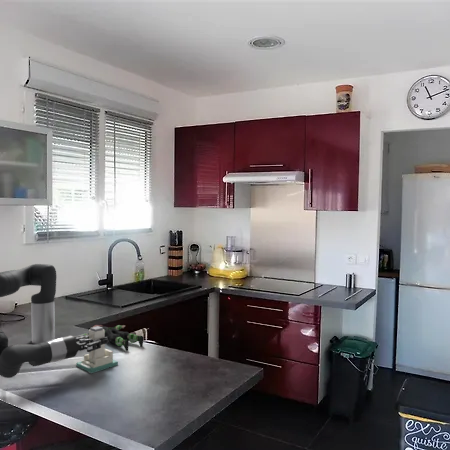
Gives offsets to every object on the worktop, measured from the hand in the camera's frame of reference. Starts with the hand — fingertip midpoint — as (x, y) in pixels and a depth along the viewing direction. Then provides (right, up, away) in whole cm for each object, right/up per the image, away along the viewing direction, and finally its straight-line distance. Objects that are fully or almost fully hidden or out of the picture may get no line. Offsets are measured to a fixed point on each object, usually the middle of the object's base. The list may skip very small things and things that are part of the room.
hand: (103, 338), depth 165 cm
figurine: (-3, -9, +28) cm, 29 cm away
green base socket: (-2, -10, -1) cm, 10 cm away
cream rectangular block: (-2, -8, -1) cm, 9 cm away
